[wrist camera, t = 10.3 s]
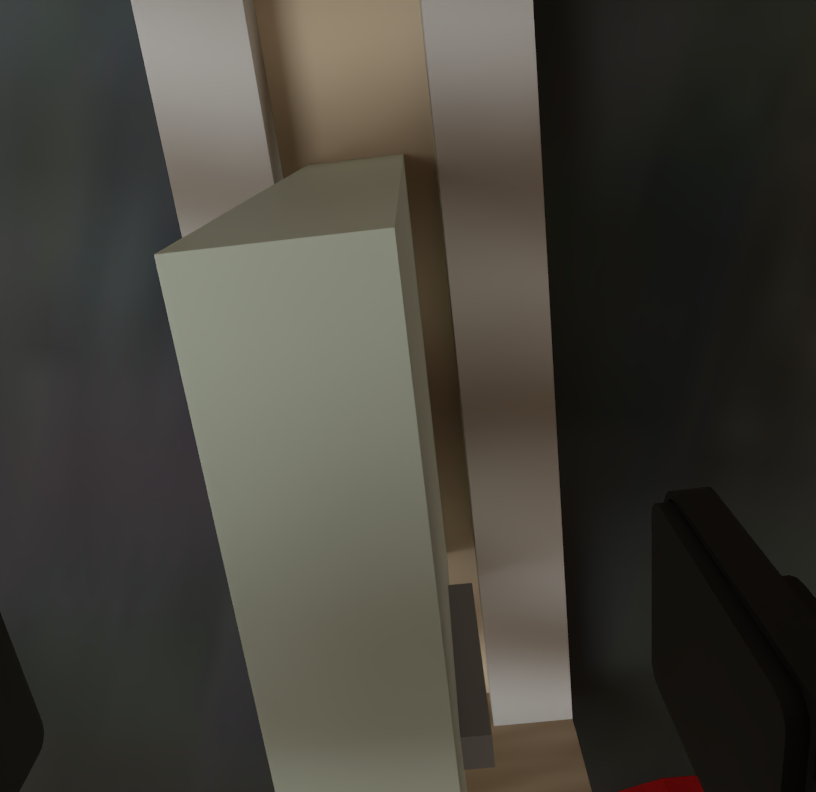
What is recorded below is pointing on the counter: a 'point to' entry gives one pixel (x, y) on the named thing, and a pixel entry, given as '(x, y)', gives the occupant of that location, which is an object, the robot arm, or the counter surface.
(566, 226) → the counter surface
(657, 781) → the kitchen timer
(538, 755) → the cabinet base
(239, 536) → the door panel
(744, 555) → the robot arm
